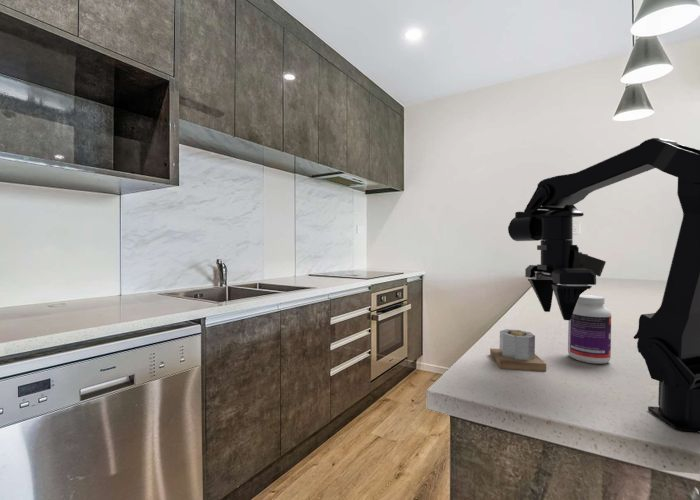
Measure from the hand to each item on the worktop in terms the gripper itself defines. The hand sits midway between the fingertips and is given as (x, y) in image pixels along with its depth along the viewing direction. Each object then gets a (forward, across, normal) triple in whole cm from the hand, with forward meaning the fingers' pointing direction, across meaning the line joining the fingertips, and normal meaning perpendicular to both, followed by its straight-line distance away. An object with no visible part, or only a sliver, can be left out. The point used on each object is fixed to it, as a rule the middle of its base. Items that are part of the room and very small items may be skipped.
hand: (556, 315), depth 73 cm
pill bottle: (+12, +9, -10) cm, 18 cm away
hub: (+10, +4, +6) cm, 12 cm away
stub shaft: (+11, +4, +6) cm, 14 cm away
